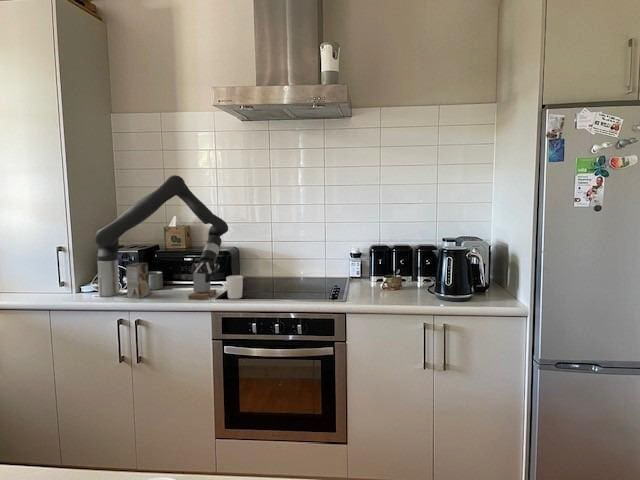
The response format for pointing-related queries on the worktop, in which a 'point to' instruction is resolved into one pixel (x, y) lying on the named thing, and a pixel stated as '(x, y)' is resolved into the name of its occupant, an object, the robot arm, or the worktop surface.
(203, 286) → the socket
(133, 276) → the coffee box
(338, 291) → the worktop surface
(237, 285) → the white cup
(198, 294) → the post block
